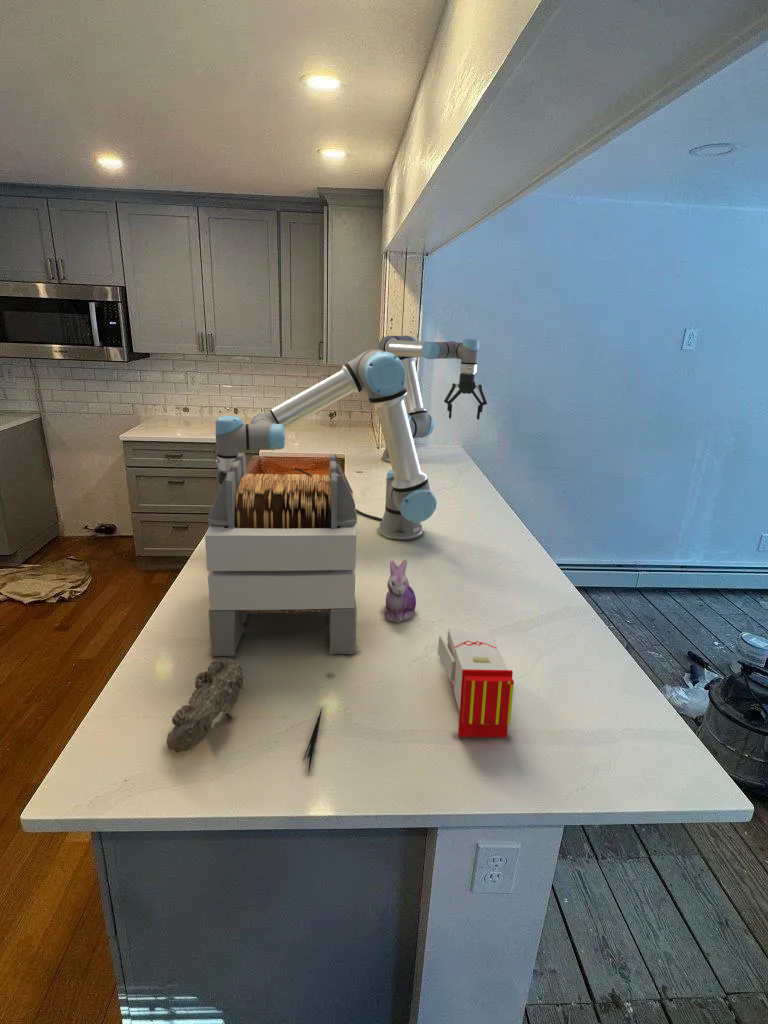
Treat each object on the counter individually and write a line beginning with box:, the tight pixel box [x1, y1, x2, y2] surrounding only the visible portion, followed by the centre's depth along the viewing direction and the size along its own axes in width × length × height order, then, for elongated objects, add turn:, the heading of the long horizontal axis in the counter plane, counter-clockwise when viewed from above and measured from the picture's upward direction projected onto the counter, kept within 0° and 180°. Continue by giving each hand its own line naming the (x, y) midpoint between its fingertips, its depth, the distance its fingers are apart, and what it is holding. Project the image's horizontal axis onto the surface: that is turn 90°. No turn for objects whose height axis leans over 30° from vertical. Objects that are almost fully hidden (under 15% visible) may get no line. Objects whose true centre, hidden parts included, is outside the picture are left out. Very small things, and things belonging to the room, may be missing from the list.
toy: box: [437, 628, 515, 738], centre depth 117 cm, size 12×13×30 cm
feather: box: [301, 673, 332, 771], centre depth 108 cm, size 2×28×2 cm
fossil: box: [166, 658, 245, 754], centre depth 106 cm, size 22×10×15 cm
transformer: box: [204, 452, 358, 658], centre depth 136 cm, size 34×33×41 cm
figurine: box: [384, 558, 417, 623], centre depth 145 cm, size 9×10×15 cm
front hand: (234, 537), depth 173 cm, fingers open, 13 cm apart
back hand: (463, 418), depth 272 cm, fingers open, 13 cm apart
